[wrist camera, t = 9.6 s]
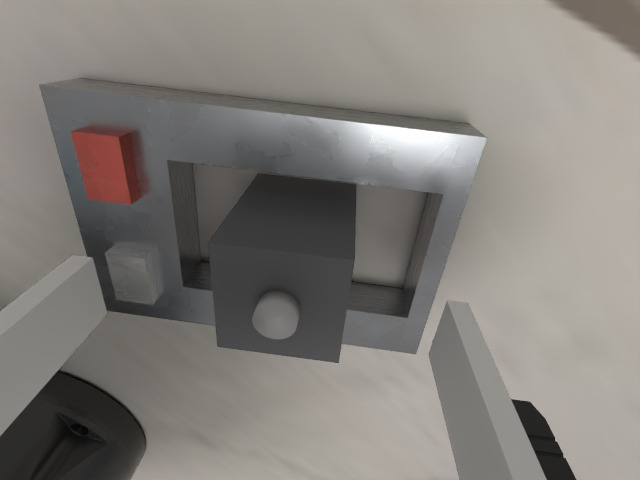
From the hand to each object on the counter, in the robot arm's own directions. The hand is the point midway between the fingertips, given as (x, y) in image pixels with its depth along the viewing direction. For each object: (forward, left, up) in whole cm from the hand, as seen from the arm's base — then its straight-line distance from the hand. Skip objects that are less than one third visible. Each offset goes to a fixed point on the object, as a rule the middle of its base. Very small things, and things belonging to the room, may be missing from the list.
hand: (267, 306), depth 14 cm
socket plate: (-2, 0, -7) cm, 7 cm away
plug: (0, 0, -7) cm, 7 cm away
